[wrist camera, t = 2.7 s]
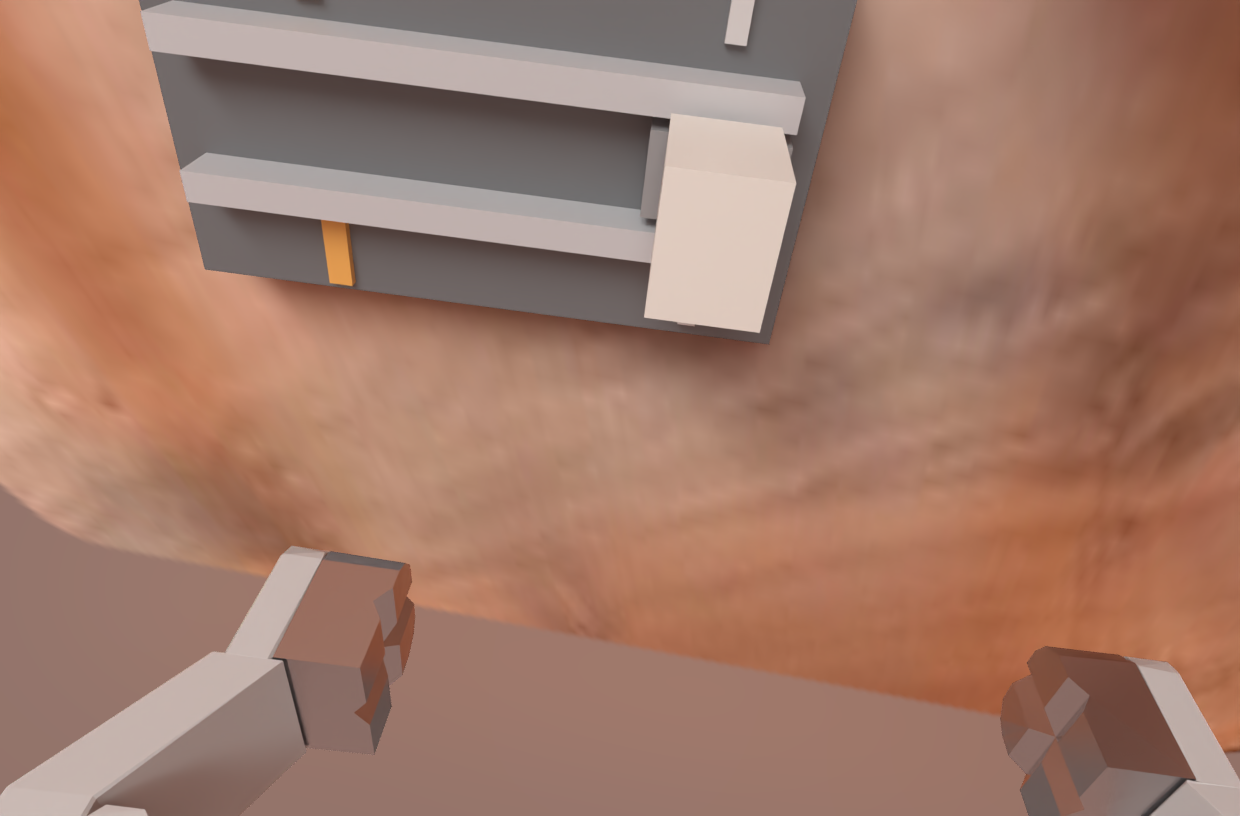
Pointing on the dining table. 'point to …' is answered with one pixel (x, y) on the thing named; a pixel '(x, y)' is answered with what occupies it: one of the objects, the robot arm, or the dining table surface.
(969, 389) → the dining table surface
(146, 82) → the dining table surface
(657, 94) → the fader console
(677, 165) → the fader knob
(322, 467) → the dining table surface
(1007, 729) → the robot arm
